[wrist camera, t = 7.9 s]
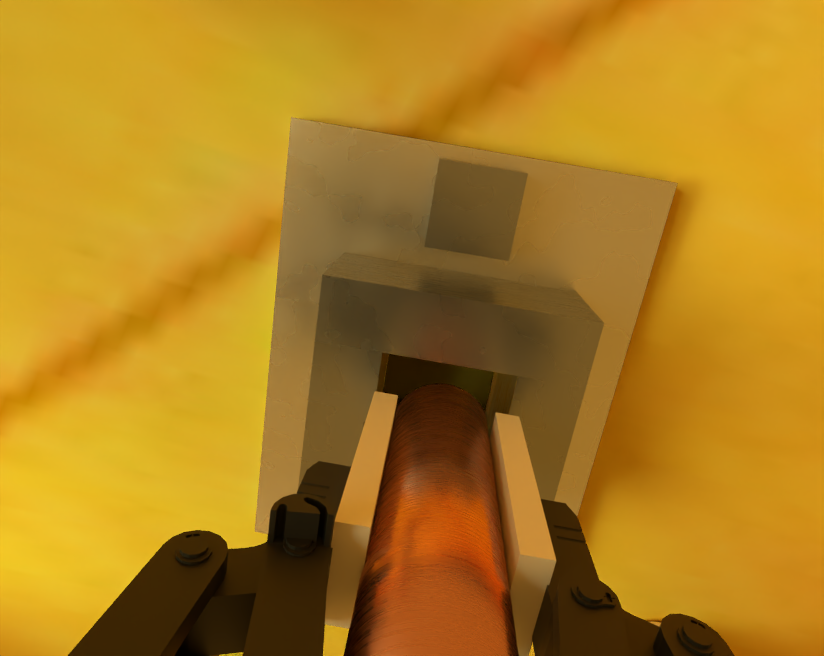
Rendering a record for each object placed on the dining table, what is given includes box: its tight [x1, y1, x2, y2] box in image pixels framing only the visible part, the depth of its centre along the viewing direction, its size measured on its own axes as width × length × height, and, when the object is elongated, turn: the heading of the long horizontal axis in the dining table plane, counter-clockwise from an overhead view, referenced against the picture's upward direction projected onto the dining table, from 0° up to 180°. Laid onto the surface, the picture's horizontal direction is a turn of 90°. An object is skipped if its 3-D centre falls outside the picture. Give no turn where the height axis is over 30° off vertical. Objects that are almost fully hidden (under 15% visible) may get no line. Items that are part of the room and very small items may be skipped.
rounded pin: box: [344, 384, 519, 656], centre depth 13 cm, size 3×3×12 cm
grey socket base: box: [255, 117, 677, 534], centre depth 21 cm, size 14×18×5 cm
